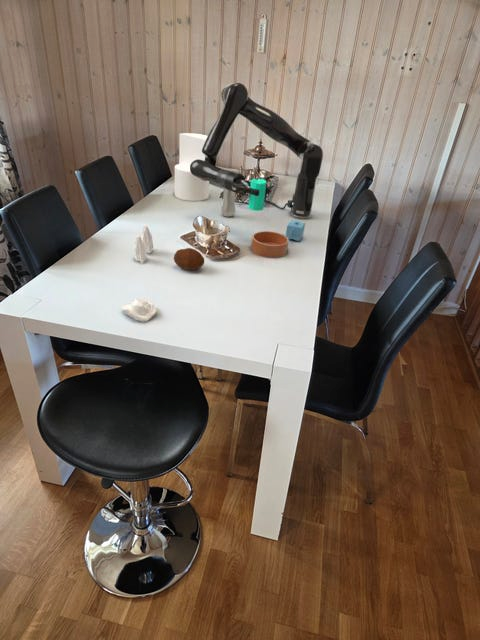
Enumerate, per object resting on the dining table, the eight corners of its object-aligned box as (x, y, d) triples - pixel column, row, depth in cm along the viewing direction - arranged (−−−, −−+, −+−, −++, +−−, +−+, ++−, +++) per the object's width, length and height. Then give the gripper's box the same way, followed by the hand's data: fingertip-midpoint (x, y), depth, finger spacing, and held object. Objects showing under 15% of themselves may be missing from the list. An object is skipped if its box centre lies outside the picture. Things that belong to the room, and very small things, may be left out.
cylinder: (190, 188, 232) (191, 131, 216) (215, 196, 224) (218, 138, 209) (167, 194, 219) (167, 135, 204) (193, 203, 212) (195, 142, 196)
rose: (117, 308, 120) (124, 290, 128) (118, 321, 123) (125, 303, 131) (154, 310, 121) (158, 292, 129) (154, 323, 124) (158, 305, 132)
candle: (265, 207, 171) (269, 176, 165) (260, 211, 166) (264, 180, 160) (250, 204, 173) (254, 173, 166) (246, 208, 168) (249, 177, 161)
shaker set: (145, 248, 164) (144, 220, 158) (156, 250, 164) (155, 222, 158) (132, 261, 154) (130, 232, 148) (143, 263, 154) (142, 234, 148)
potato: (175, 261, 157) (175, 242, 153) (205, 264, 158) (206, 245, 153) (171, 272, 150) (171, 252, 146) (203, 275, 150) (203, 255, 146)
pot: (244, 244, 175) (246, 233, 173) (275, 241, 181) (277, 229, 178) (261, 259, 165) (263, 247, 162) (293, 255, 171) (295, 243, 168)
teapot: (297, 245, 179) (300, 228, 175) (283, 242, 180) (285, 225, 176) (303, 235, 189) (306, 219, 185) (289, 233, 190) (292, 216, 186)
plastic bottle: (218, 216, 200) (221, 171, 189) (224, 212, 205) (227, 168, 194) (231, 219, 198) (234, 174, 187) (237, 215, 203) (240, 171, 192)
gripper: (218, 173, 166) (251, 185, 158) (243, 168, 176) (276, 179, 167) (217, 192, 171) (249, 205, 162) (241, 186, 180) (273, 198, 171)
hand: (263, 192), depth 164 cm, fingers closed on candle, 5 cm apart
